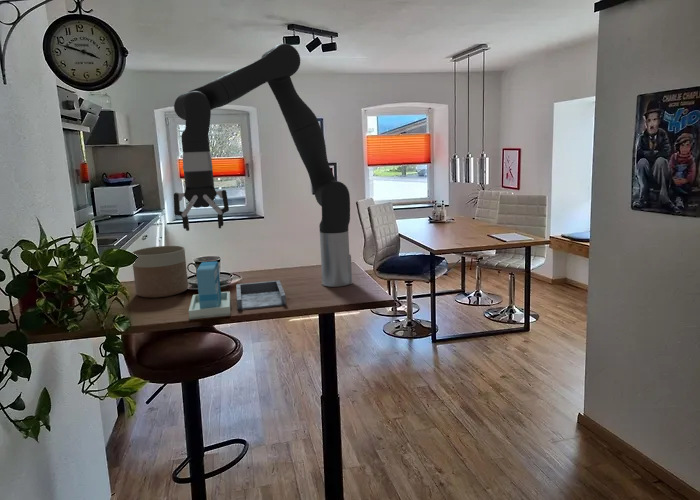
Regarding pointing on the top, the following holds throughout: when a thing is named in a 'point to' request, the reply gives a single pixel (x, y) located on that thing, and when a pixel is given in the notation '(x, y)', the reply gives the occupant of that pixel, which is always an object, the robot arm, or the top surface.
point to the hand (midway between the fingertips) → (203, 229)
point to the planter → (160, 271)
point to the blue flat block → (209, 285)
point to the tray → (210, 312)
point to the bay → (260, 295)
